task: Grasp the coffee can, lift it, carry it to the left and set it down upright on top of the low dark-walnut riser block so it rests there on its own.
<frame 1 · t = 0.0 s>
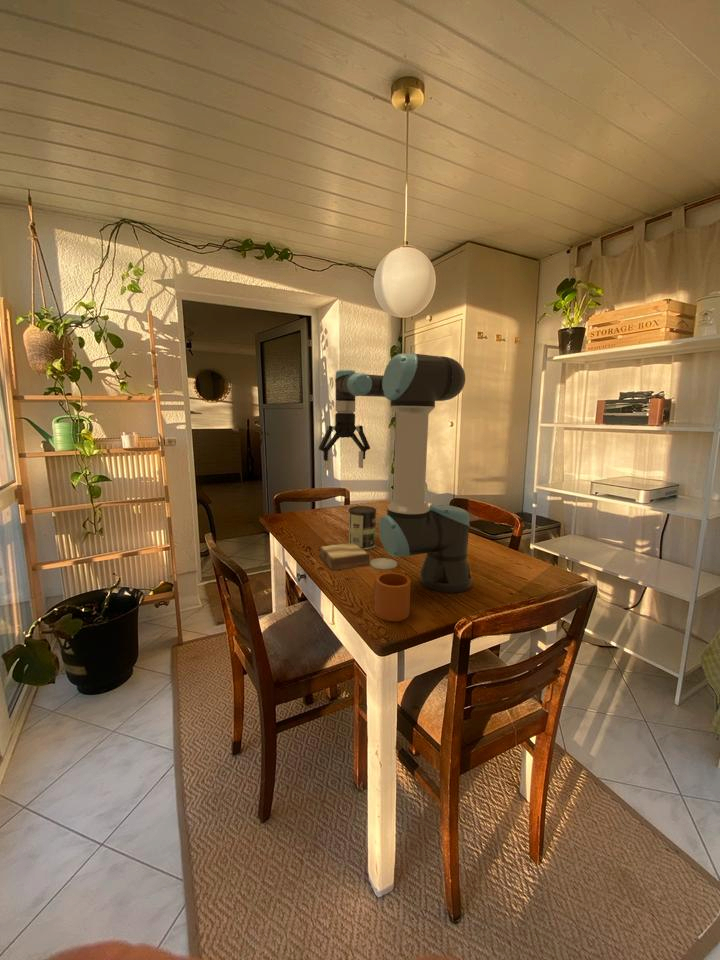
hand: (344, 468, 153), 28 cm above the table, fingers open, 13 cm apart
walnut riser: (343, 560, 135), on the table
coffee can: (361, 545, 151), on the table
felt coaster: (383, 564, 132), on the table
mug: (389, 610, 102), on the table
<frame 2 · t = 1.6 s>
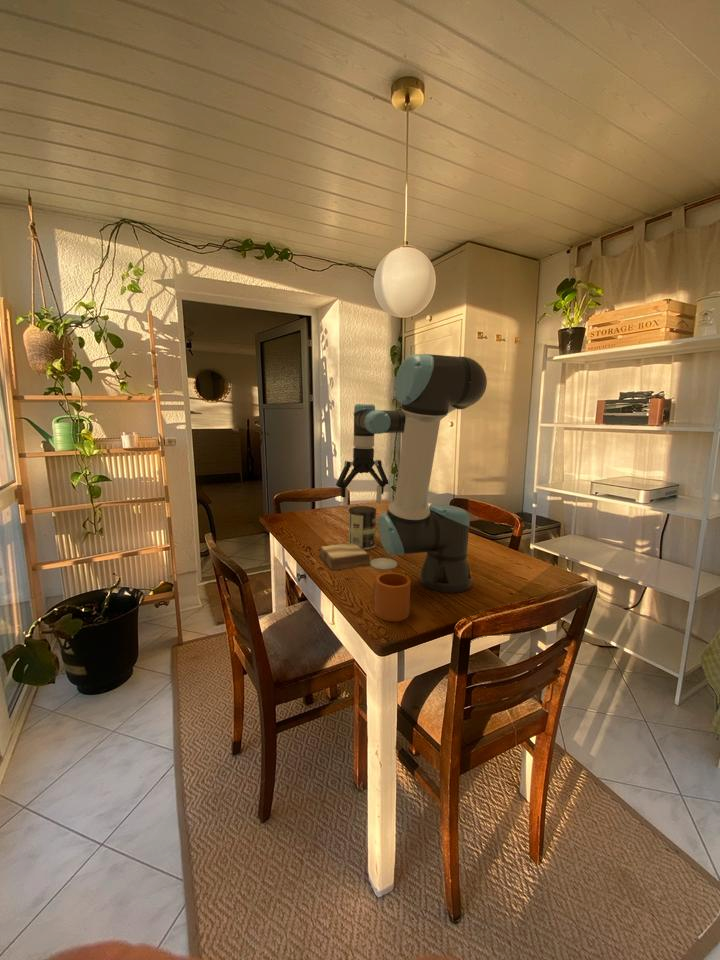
hand: (362, 504, 148), 16 cm above the table, fingers open, 13 cm apart
nothing on the table moved.
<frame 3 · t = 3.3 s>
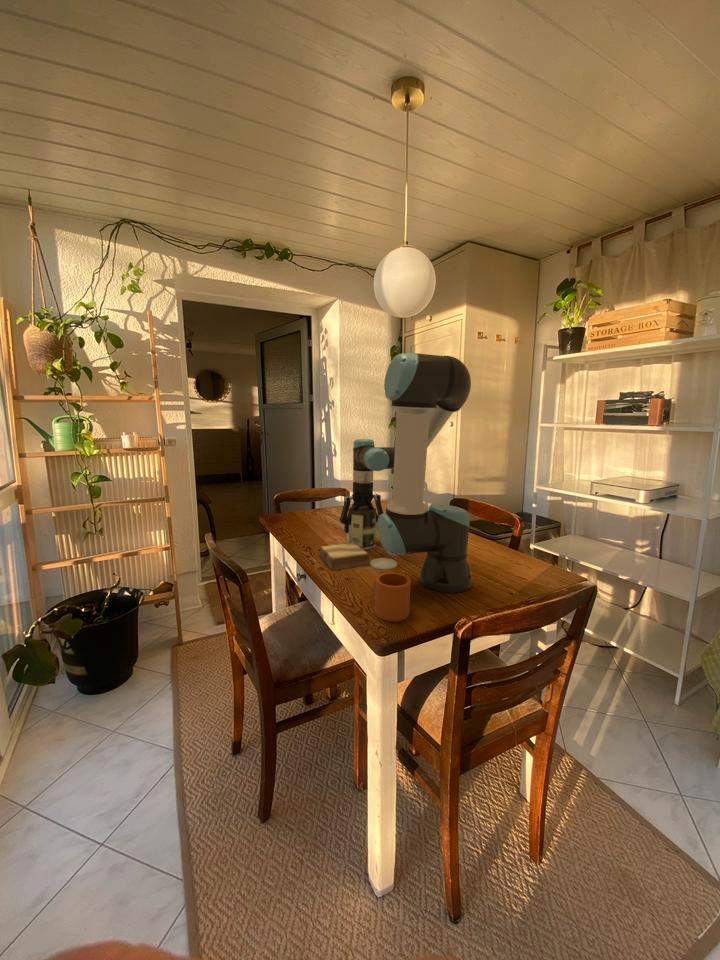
hand: (361, 539, 150), 2 cm above the table, fingers closed on coffee can, 10 cm apart
coffee can: (361, 545, 151), on the table, touching gripper
everything else where it was.
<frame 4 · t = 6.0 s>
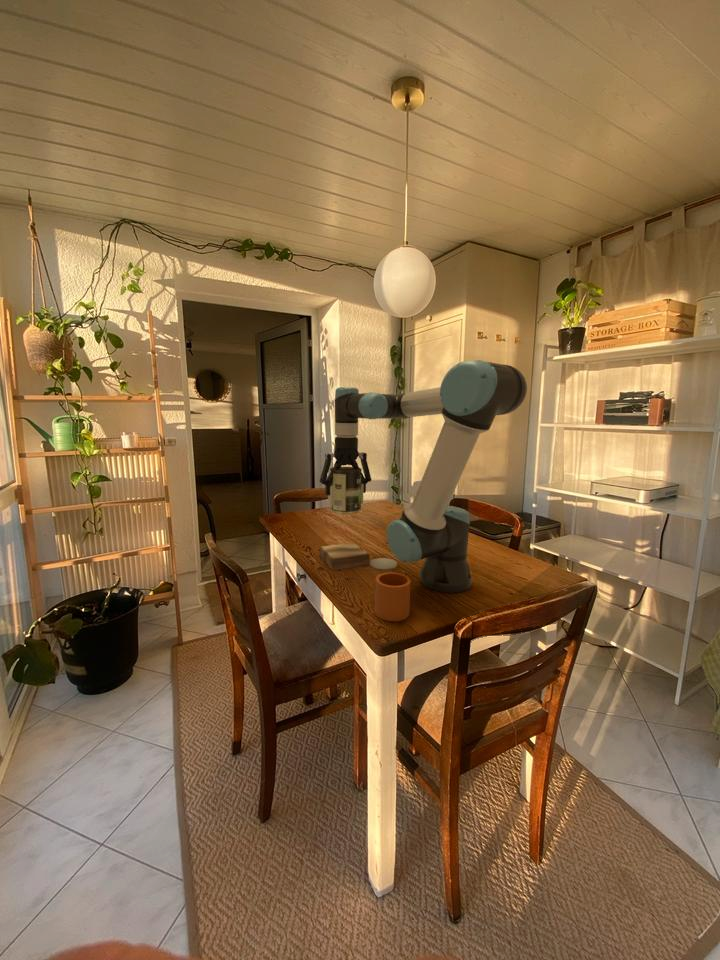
hand: (345, 503, 132), 20 cm above the table, fingers closed on coffee can, 10 cm apart
coffee can: (345, 510, 133), point 17 cm above the table, touching gripper
everything else where it was.
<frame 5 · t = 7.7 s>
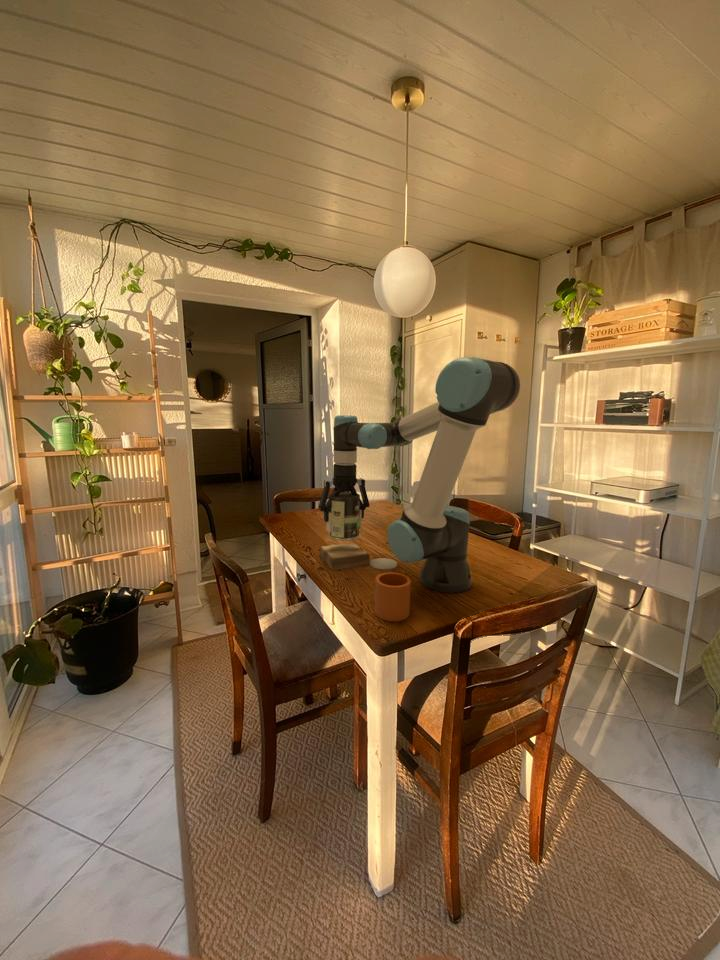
hand: (344, 529, 133), 11 cm above the table, fingers closed on coffee can, 10 cm apart
coffee can: (343, 536, 134), point 8 cm above the table, touching gripper
everything else where it was.
when the fingers open (7 cm above the table, at t = 9.0 s): coffee can drops 1 cm, resting on walnut riser.
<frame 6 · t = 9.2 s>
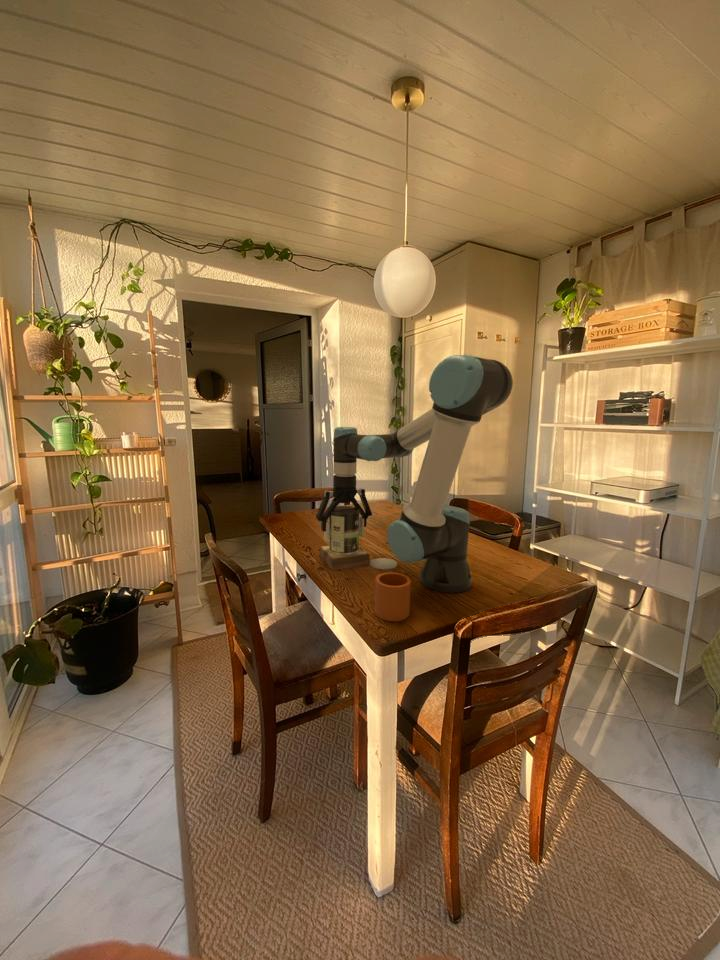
hand: (344, 538, 134), 8 cm above the table, fingers open, 12 cm apart
coffee can: (343, 550, 134), point 4 cm above the table, touching walnut riser
everything else where it was.
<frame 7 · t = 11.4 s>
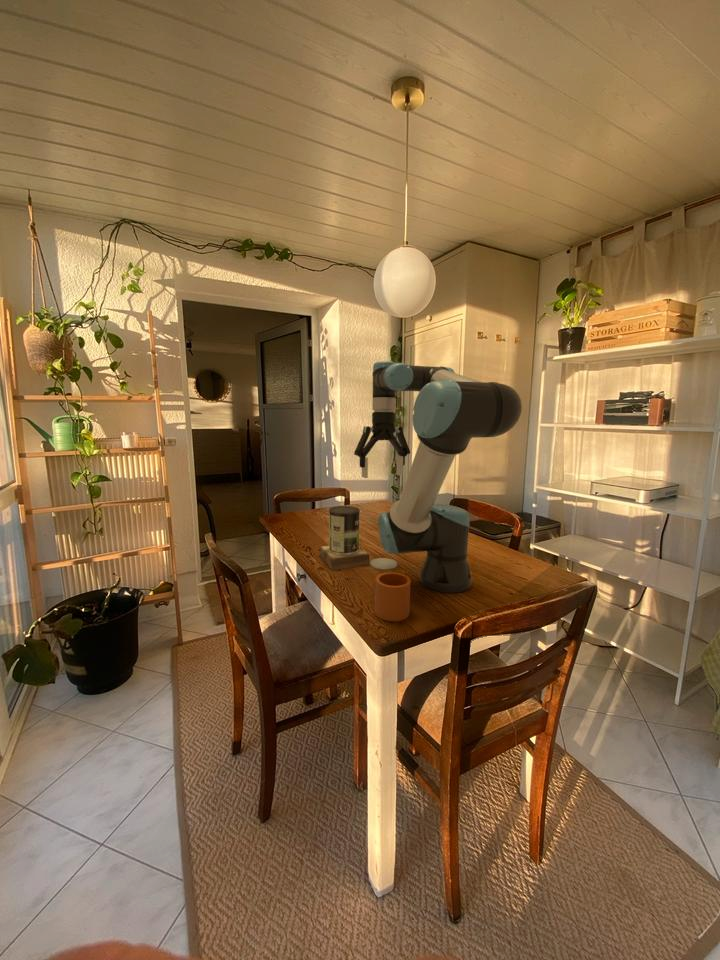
hand: (382, 476, 132), 29 cm above the table, fingers open, 13 cm apart
nothing on the table moved.
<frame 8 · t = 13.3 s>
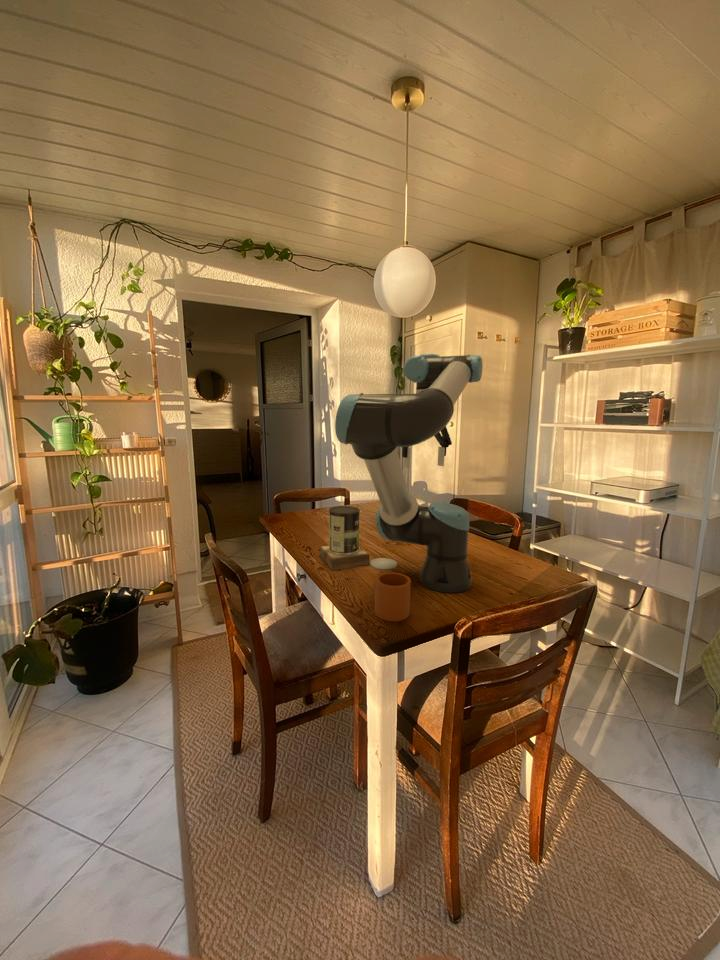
hand: (424, 466, 136), 32 cm above the table, fingers open, 13 cm apart
nothing on the table moved.
at the end: coffee can inside the target area on the walnut riser (0.1 cm from its centre), point 3.5 cm above the walnut riser's base; coffee can tilted 0°; the gripper is holding nothing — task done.
